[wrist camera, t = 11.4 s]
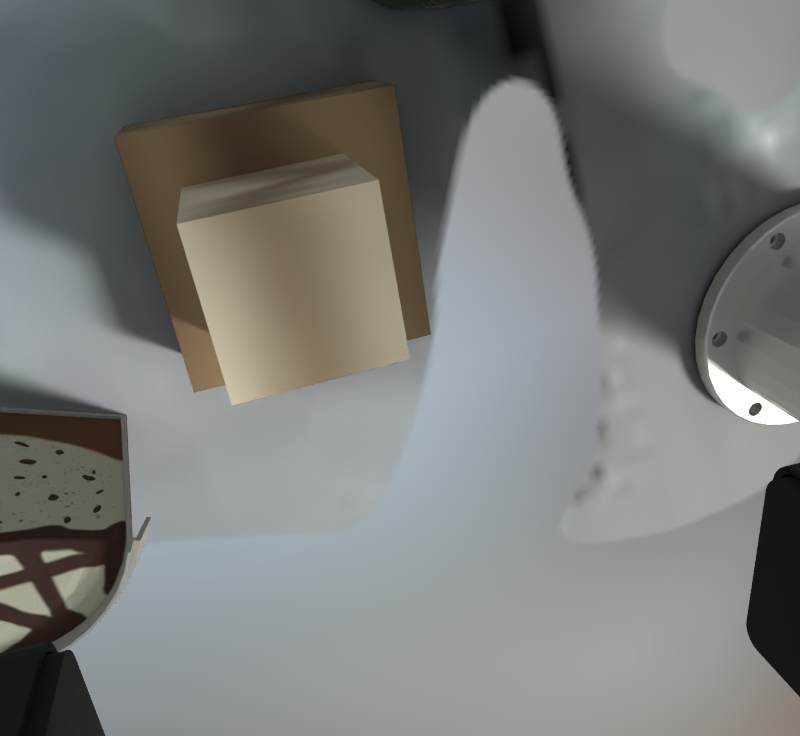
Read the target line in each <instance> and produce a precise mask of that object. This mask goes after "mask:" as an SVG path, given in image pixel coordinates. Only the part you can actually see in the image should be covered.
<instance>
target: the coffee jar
mask: <svg viewBox="0 0 800 736" xmlns="http://www.w3.org/2000/svg"><path fill="white" fill-rule="evenodd" d="M373 1H375V2H377V3H379V4H381V5H383V6H385V7H388V8H392V9H396V10H427V9H439V8H448V7H454V6H461V5H468V4H473V3H480V2H485V1H490V0H373Z"/></svg>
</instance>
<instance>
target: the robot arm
mask: <svg viewBox="0 0 800 736" xmlns="http://www.w3.org/2000/svg"><path fill="white" fill-rule="evenodd" d="M695 350H696V362H697V366H698V370H699V373H700V377H701V379H702V381H703V383H704V385H705V387H706V389H707V390H708V392H709V394H710V395H711V396H712V397H713V398H714V399H715V400H716V401H717V402H718V403H719V404H720V405H721V406H723V407H724V408H726V409H727V410H729V411H730V412H731V413H733V414H734V415H735V416H737V417H740V418H742V419H744V420H746V421H748V422H752V423H758V424H764V425H781V424H788V423H792V422H797V421H799V422H800V204H798V205H796V206H793V207H790V208H788V209H785V210H783V211H782V212H780V213H778V214H777V215H775V216H773V217H772V218H770V219H768V220H767V221H765V222H764V223H762V224H761V225H760V226H759V227H758V228H756V229H755V230H754V231H753V232H751V233H750V234H749V235H748V236H747V237H745V239H744V240H743V241H742V242H741V243H740V244H739V245H738V246H737V247H736V249H735V250H734V251H733V252H732V253H731V254H730V255H729V256H728V258H727V259H726V261H725V262H724V264H723V265H722V267H721V268H720V270H719V271H718V273H717V274H716V276H715V277H714V280H713V282H712V284H711V286H710V288H709V290H708V292H707V294H706V296H705V298H704V302H703V305H702V308H701V311H700V315H699V318H698V323H697V330H696V338H695ZM746 625H747V631H748V635H749V637H750V640H751V642H752V644H753V645H754V647H755V648H756V649H757V651H758V652H759V653H760V654H761V655H762V656H763V657H764V658H765V659H766V660H767V662H768V663H769V664H770V665H771V666H772V667H773V668H774V669H775V670H776V671H777V672H778V674H779V675H780V676H781V677H782V678H783V679H784V680H785V681H786V682H787V683H788V684H789V686H790V687H791V688H792V689H793V690H794V691H795V692H796V693H797V694H798V695H799V697H800V463H798V464H793V465H789V466H785V467H782V468H780V469H778V471H777V472H776V473H775V475H774V478H773V481H770V483H769V484H768V485H767V489H766V494H765V501H764V507H763V514H762V521H761V527H760V534H759V541H758V547H757V555H756V561H755V568H754V574H753V581H752V588H751V595H750V601H749V608H748V615H747V624H746ZM0 736H105V734H104V732H103V729H102V726H101V724H100V721H99V718H98V716H97V713H96V710H95V708H94V705H93V703H92V700H91V697H90V695H89V692H88V689H87V687H86V684H85V682H84V679H83V676H82V674H81V671H80V669H79V666H78V663H77V661H76V658H75V656H74V654H73V652H72V651H71V650H65V651H61V652H58V651H57V649H56V647H55V646H54V645H53V644H52V643H51V642H44V643H40V644H35V645H31V646H27V647H23V648H18V649H14V650H10V651H6V652H2V653H0Z"/></svg>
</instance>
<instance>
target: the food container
mask: <svg viewBox="0 0 800 736" xmlns="http://www.w3.org/2000/svg"><path fill="white" fill-rule="evenodd" d="M150 521H151V517H146V519H145V521H144V523H143V525H142V527H141V529H140V531H139V533H138V535H137V537H136V538H133V535H132V515H131V495H130V475H129V455H128V435H127V415H122V414H106V413H90V412H74V411H59V410H43V409H27V408H11V407H0V653H2V652H6V651H10V650H14V649H18V648H23V647H27V646H31V645H35V644H40V643H44V642H51V643H52V644H53V645H54V646H55V647H56V649H57V651H58V652H61V651H65V650H67V649H68V648H70V647H71V646H73V645H74V644H75V643H77V642H78V641H79V640H80V639H81V638H82V637H84V636H85V635H86V634H87V633H89V632H90V631H91V630H92V629H93V628H94V627H95V625H96V624H97V623H98V622H99V621H100V620H101V619H102V618H103V617H104V615H106V613H107V612H108V611H109V610H110V609H111V608H112V607H113V605H114V604H115V603H116V601H117V600H118V598H119V597H120V595H121V594H122V592H123V590H124V589H125V587H126V586H127V584H128V582H129V580H130V578H131V576H132V573H133V571H134V569H135V567H136V565H137V563H138V561H139V558H140V556H141V553H142V550H143V548H144V545H145V543H146V540H147V537H148V531H149V526H150Z"/></svg>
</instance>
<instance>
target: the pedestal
mask: <svg viewBox="0 0 800 736" xmlns="http://www.w3.org/2000/svg"><path fill="white" fill-rule="evenodd" d="M114 139H115V142H116V145H117V148H118V151H119V155H120V158H121V161H122V164H123V167H124V170H125V174H126V177H127V180H128V183H129V186H130V190H131V193H132V196H133V199H134V202H135V206H136V209H137V212H138V215H139V218H140V221H141V225H142V228H143V231H144V234H145V237H146V241H147V244H148V247H149V250H150V253H151V257H152V260H153V263H154V266H155V269H156V272H157V276H158V279H159V282H160V285H161V288H162V292H163V295H164V298H165V301H166V304H167V308H168V311H169V314H170V317H171V320H172V323H173V327H174V330H175V333H176V336H177V339H178V343H179V346H180V349H181V352H182V355H183V359H184V362H185V365H186V368H187V371H188V374H189V378H190V381H191V384H192V387H193V390H194V392H198V391H202V390H206V389H210V388H214V387H218V386H222V385H226V384H225V381H224V378H223V375H222V371H221V368H220V365H219V362H218V358H217V355H216V352H215V348H214V345H213V342H212V339H211V335H210V332H209V329H208V326H207V322H206V319H205V316H204V312H203V309H202V306H201V303H200V299H199V296H198V293H197V290H196V286H195V283H194V280H193V276H192V273H191V270H190V267H189V263H188V260H187V257H186V253H185V250H184V247H183V244H182V240H181V237H180V234H179V231H178V227H177V217H178V209H179V202H180V194H181V188H183V187H187V186H192V185H197V184H201V183H206V182H211V181H216V180H220V179H225V178H230V177H234V176H239V175H244V174H248V173H253V172H258V171H263V170H267V169H272V168H277V167H281V166H286V165H291V164H296V163H300V162H305V161H310V160H314V159H319V158H324V157H328V156H333V155H338V154H343V153H344V154H345V155H346V156H348V157H349V158H350V159H352V160H353V161H354V162H356V163H357V164H358V165H360V166H361V167H362V168H364V169H365V170H366V171H368V172H369V173H370V174H372V175H373V176H374V177H376V178H377V179H378V180H379V185H380V190H381V196H382V202H383V207H384V213H385V219H386V225H387V230H388V236H389V242H390V247H391V253H392V259H393V264H394V270H395V276H396V282H397V287H398V293H399V299H400V304H401V310H402V316H403V321H404V327H405V333H406V339H407V340H410V339H414V338H418V337H423V336H427V335H431V334H430V327H429V320H428V313H427V306H426V299H425V292H424V285H423V279H422V272H421V265H420V258H419V251H418V244H417V237H416V230H415V223H414V216H413V210H412V203H411V196H410V189H409V182H408V175H407V168H406V161H405V154H404V147H403V141H402V134H401V127H400V120H399V113H398V106H397V99H396V92H395V85H391V84H386V83H382V82H377V81H369V82H364V83H359V84H353V85H348V86H342V87H337V88H331V89H326V90H320V91H315V92H310V93H304V94H299V95H293V96H288V97H282V98H277V99H272V100H266V101H261V102H255V103H250V104H244V105H239V106H233V107H228V108H223V109H217V110H212V111H206V112H201V113H195V114H190V115H185V116H179V117H174V118H168V119H163V120H157V121H152V122H146V123H141V124H136V125H130V126H125V127H123V128H122V129H121V130H120V131H119V132H118V134H117V135H116V136H115V137H114Z"/></svg>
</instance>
